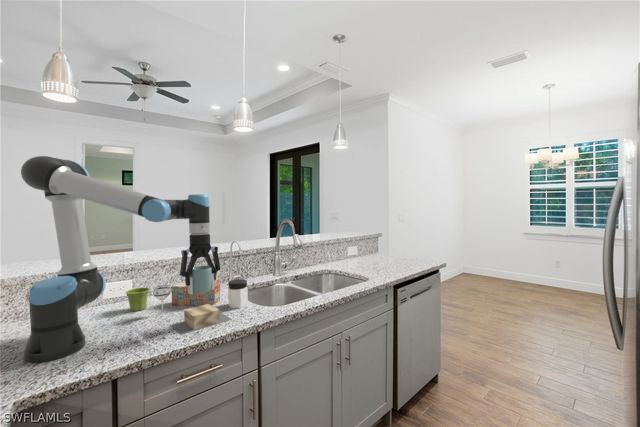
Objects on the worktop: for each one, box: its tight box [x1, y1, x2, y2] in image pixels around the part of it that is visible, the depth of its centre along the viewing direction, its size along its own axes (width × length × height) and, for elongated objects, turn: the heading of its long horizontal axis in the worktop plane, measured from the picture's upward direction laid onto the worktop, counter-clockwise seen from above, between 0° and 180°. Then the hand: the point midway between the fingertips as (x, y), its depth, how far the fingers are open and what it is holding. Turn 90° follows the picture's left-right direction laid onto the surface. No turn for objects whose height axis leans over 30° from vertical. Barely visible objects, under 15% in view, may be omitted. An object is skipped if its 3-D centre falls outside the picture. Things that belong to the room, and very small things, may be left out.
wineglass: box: [152, 284, 172, 317], centre depth 130 cm, size 7×7×12 cm
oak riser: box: [183, 304, 220, 330], centre depth 119 cm, size 10×10×5 cm
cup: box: [190, 265, 212, 294], centre depth 118 cm, size 8×8×10 cm
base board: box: [170, 311, 233, 335], centre depth 119 cm, size 20×12×1 cm, turn 133°
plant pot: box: [125, 287, 151, 312], centre depth 137 cm, size 9×9×9 cm
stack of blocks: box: [170, 277, 221, 307], centre depth 143 cm, size 21×6×12 cm, turn 85°
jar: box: [227, 278, 249, 309], centre depth 138 cm, size 9×8×12 cm
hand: (201, 291), depth 118 cm, fingers closed on cup, 8 cm apart
